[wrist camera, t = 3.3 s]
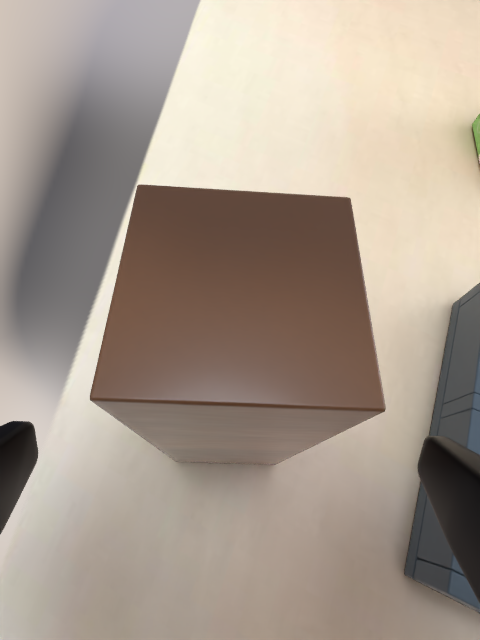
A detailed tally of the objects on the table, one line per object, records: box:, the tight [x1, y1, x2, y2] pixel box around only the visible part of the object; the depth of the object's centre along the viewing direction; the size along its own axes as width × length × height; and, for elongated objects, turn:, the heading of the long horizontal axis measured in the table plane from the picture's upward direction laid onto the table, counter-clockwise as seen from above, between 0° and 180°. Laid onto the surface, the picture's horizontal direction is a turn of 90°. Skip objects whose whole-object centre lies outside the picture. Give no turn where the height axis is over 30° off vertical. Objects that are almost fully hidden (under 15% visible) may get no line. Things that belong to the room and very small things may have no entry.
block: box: [90, 185, 386, 465], centre depth 12 cm, size 5×5×12 cm
